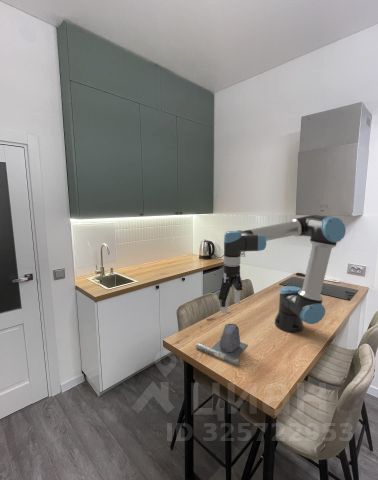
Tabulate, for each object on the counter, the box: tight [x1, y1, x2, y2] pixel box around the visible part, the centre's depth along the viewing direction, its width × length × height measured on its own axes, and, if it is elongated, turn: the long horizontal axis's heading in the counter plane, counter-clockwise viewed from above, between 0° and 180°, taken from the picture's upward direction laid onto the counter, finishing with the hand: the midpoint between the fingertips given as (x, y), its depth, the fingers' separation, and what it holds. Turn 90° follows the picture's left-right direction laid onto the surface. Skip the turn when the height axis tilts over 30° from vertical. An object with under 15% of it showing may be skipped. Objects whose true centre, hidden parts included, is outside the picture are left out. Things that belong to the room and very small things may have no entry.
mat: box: [210, 340, 248, 359], centre depth 122 cm, size 13×15×1 cm
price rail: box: [195, 342, 240, 367], centre depth 116 cm, size 22×2×2 cm, turn 54°
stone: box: [219, 323, 241, 353], centre depth 121 cm, size 12×10×10 cm
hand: (230, 307), depth 118 cm, fingers open, 13 cm apart
